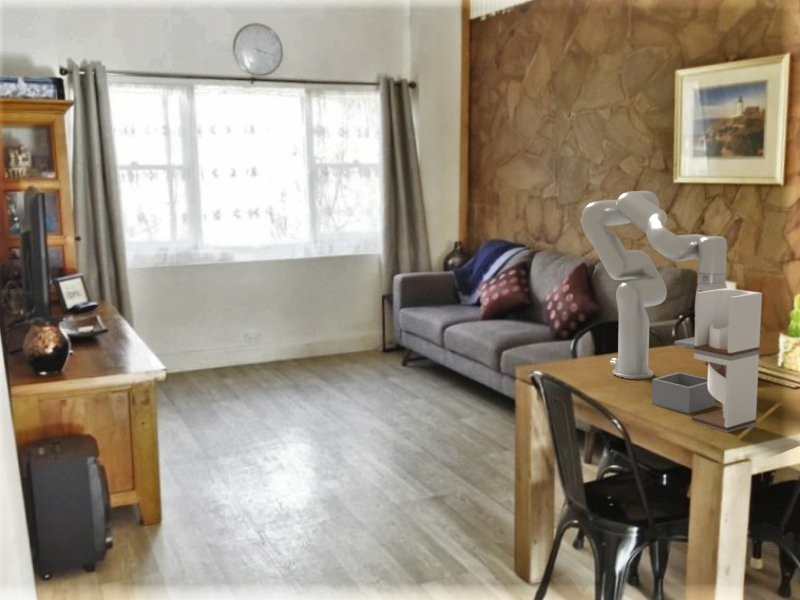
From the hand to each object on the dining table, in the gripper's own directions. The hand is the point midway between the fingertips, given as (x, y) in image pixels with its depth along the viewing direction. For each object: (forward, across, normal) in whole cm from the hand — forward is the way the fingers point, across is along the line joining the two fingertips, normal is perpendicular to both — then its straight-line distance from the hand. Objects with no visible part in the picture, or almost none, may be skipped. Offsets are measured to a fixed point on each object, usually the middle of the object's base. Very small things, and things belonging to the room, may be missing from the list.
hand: (709, 340), depth 225 cm
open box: (+16, -17, -4) cm, 24 cm away
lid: (+2, 0, 0) cm, 2 cm away
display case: (+17, -23, -20) cm, 34 cm away
